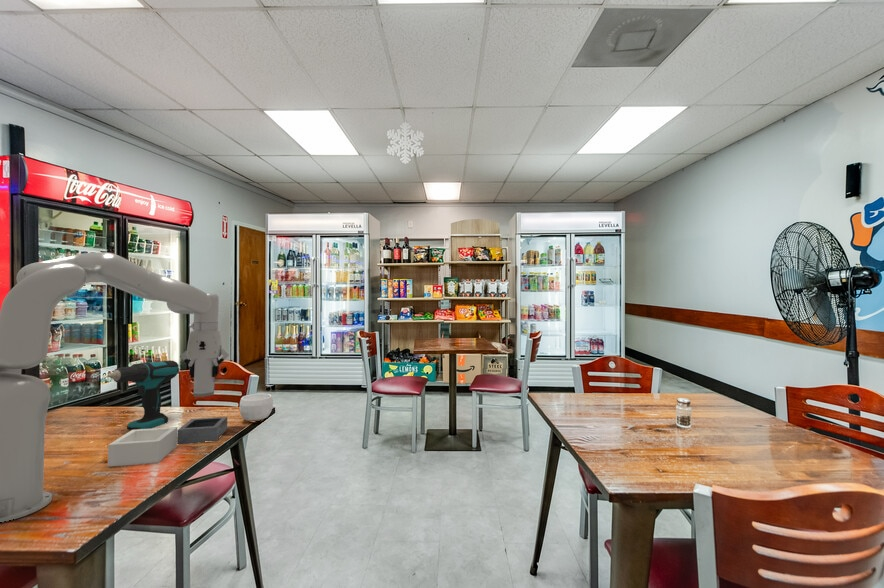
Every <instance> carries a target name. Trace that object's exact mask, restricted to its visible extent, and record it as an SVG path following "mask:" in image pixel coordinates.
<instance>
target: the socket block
mask: <svg viewBox="0 0 884 588" xmlns="http://www.w3.org/2000/svg"><path fill="white" fill-rule="evenodd" d="M226 429H227V430H228V416H220V417H202V418H201V417H200V418H191V419H190V420H189V421H187V422H186V423H185V424H183V425H181V426H180V427H179V428H177V444H179V445H189V444H190V443H193V444H199V443H198V442H205V441H217V439H218V438H219V437H220V436H221V435H222V434H223V433H224V432H225V430H226ZM225 433H226V432H225ZM225 433H224V434H225ZM224 434H223V435H224ZM223 435H222V436H223ZM222 436H221V437H222ZM221 437H220V438H221ZM220 438H219V439H220ZM217 442H218V441H217ZM190 445H191V444H190Z"/></svg>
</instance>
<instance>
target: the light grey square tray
mask: <svg viewBox="0 0 884 588" xmlns="http://www.w3.org/2000/svg"><path fill="white" fill-rule="evenodd" d="M178 429H179V428H178V426H174V427H172V426H171V427H154V428H151V429H141V428H136V429H131V430H130V431H128V432H127V433H125V434H122V436H120V437H119V438H117V439H115V440H114V441H112V442H110V443H109V444H107V445H108V446H107V468H110V467H120V466H121V467H123V466H134V465H136V466H137V465H146V464H156V463H157V464H158V463H160V462H161V461H162V460H163V459H165V458H166V457H167V456H168V455H169V454H170V453H172V452H173V450H175V449H176V448H177V447H178V445H177V437H178Z"/></svg>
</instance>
